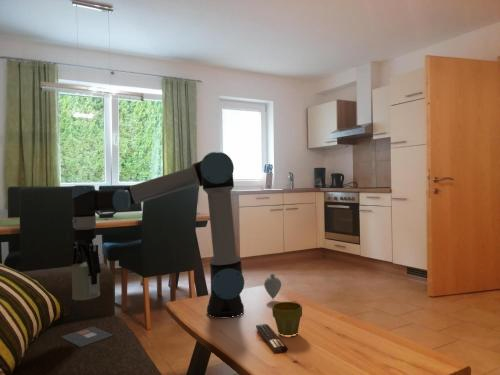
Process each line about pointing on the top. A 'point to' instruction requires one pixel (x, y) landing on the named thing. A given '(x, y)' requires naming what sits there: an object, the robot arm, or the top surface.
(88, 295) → the can
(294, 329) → the plant pot
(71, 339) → the tile
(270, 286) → the spinning top
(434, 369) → the top surface
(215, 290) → the robot arm
